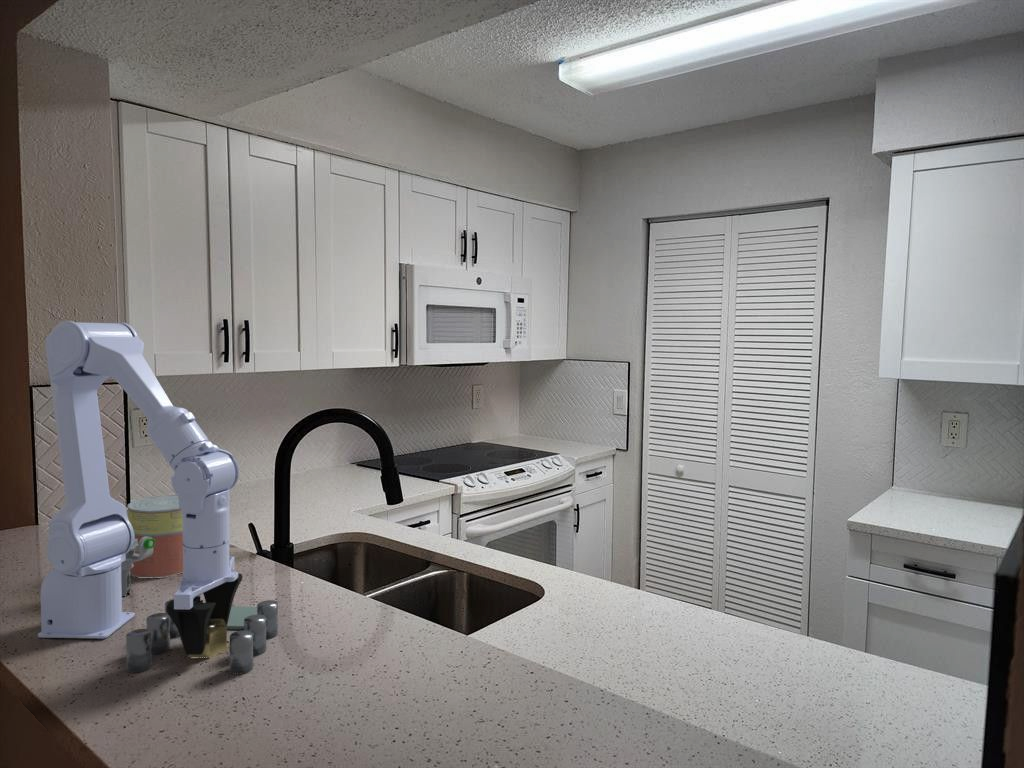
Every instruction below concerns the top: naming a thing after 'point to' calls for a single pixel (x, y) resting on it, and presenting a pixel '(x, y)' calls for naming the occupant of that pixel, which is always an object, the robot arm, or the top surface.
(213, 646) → the brass nut
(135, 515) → the canned food
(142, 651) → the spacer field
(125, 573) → the mechanical component
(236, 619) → the green mat
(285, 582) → the top surface
